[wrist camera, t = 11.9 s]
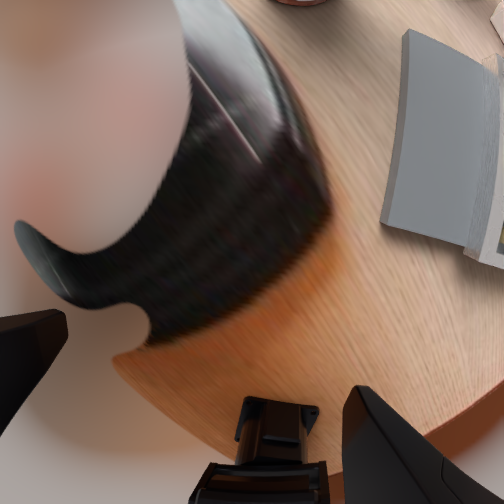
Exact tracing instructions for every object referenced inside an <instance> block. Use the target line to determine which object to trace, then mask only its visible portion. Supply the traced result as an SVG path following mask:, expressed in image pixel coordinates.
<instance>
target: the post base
mask: <svg viewBox="0 0 504 504" xmlns="http://www.w3.org/2000/svg"><path fill="white" fill-rule="evenodd" d="M483 130H484V79H483V65H481V64H479V63H478V62H476V61H474V60H473V59H471V58H469V57H468V56H466V55H464V54H462V53H460V52H459V51H457V50H455V49H453V48H451V47H449V46H447V45H445V44H443V43H441V42H439V41H437V40H435V39H433V38H430V37H428V36H426V35H424V34H421V33H419V32H417V31H414V30H412V29H408V30H407V32H406V33H405V34H404V35H403V36H402V63H401V82H400V95H399V106H398V116H397V125H396V133H395V140H394V147H393V154H392V160H391V166H390V172H389V178H388V183H387V188H386V193H385V198H384V203H383V208H382V212H381V217H380V222H382V223H384V224H386V225H389V226H393V227H396V228H400V229H404V230H408V231H412V232H415V233H419V234H423V235H426V236H430V237H433V238H437V239H440V240H444V241H447V242H451V243H454V244H457V245H461V246H464V247H465V244H466V240H467V236H468V232H469V228H470V223H471V219H472V214H473V209H474V204H475V199H476V193H477V187H478V180H479V173H480V165H481V156H482V145H483ZM497 252H500V253H503V254H504V221H503V226H502V231H501V235H500V239H499V243H498V247H497Z"/></svg>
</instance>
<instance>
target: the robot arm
mask: <svg viewBox="0 0 504 504" xmlns="http://www.w3.org/2000/svg"><path fill="white" fill-rule="evenodd" d="M67 339H68V328H67V321H66V315H65V313H64V312H62V311H60V310H57V309H48V310H43V311H37V312H31V313H25V314H19V315H12V316H6V317H0V437H1V435H2V433H3V432H4V430H5V429H6V427H7V426H8V425H9V423H10V421H11V420H12V419H13V417H14V416H15V414H16V413H17V411H18V410H19V409H20V407H21V406H22V404H23V403H24V402H25V400H26V399H27V397H28V396H29V395H30V394H31V392H32V391H33V389H34V388H35V387H36V385H37V384H38V383H39V382H40V380H41V379H42V378H43V376H44V375H45V374H46V372H47V371H48V369H49V368H50V366H51V364H52V363H53V361H54V360H55V358H56V356H57V355H58V354H59V352H60V350H61V349H62V347H63V346H64V344H65V343H66V341H67ZM248 401H250V402H248ZM312 411H315V412H312ZM318 415H319V408H318V407H316V406H309V405H301V404H294V403H287V402H280V401H274V400H268V399H262V398H257V397H252V396H247V397H245V398H244V401H243V406H242V410H241V414H240V418H239V422H238V426H237V430H236V434H235V441H236V442H239V446H238V450H237V455H236V460H235V465H226V464H218V463H212V462H211V463H210V464H209V465H208V467H207V469H206V470H205V472H204V474H203V475H202V477H201V479H200V480H199V482H198V484H197V486H196V488H195V489H194V491H193V493H192V494H191V496H190V498H189V502H188V504H330V493H329V483H328V474H327V466H326V461H319V462H318V463H308V453H307V437H308V435H309V433H310V431H311V429H312V427H313V425H314V423H315V421H316V419H317V417H318ZM342 465H343V476H344V491H345V504H504V500H502V499H501V498H499V497H498V496H496V495H495V494H493V493H492V492H490V491H489V490H487V489H486V488H485V487H483V486H482V485H480V484H479V483H477V482H476V481H475V480H473V479H472V478H471V477H469V476H468V475H466V474H465V473H464V472H463V471H461V470H460V469H459V468H458V467H457V466H456V465H454V464H453V463H452V462H451V461H450V460H449V459H448V458H446V457H443V454H442V453H441V452H440V451H439V450H437V449H436V448H435V447H434V446H433V445H432V444H431V443H430V442H429V441H427V440H426V439H425V438H424V437H423V436H422V435H421V434H420V433H419V432H418V431H417V430H415V429H414V428H413V427H412V426H411V425H410V424H409V423H408V422H407V421H406V420H405V419H403V418H402V417H401V416H400V415H399V414H398V413H397V412H396V411H395V410H394V409H393V408H392V407H390V406H389V405H388V404H387V403H386V402H385V401H384V400H383V399H382V398H381V397H380V396H379V395H378V394H376V393H375V392H374V391H373V390H372V389H371V388H370V387H369V386H364V385H355V386H354V387H353V388H352V390H351V392H350V394H349V396H348V398H347V400H346V402H345V404H344V407H343V417H342Z"/></svg>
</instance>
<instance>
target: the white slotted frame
mask: <svg viewBox="0 0 504 504" xmlns="http://www.w3.org/2000/svg"><path fill="white" fill-rule="evenodd" d="M482 64H483V79H484V130H483V145H482V156H481V165H480V173H479V180H478V187H477V193H476V199H475V204H474V209H473V214H472V219H471V223H470V228H469V232H468V236H467V240H466V244H465V247H464V251H463V254H465V255H467V256H469V257H470V258H472V259H474V260H476V261H478V262H481V263H485V264H488V265H491V266H495V267H498V268H501V269H504V254H503V253H500V252H497V247H498V243H499V239H500V235H501V231H502V226H503V221H504V58H503V57H501V56H500V55H498V54H497V53H495V54H493V55H491V56H489V57H487V58H485V59H483V60H482Z"/></svg>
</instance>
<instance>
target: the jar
mask: <svg viewBox="0 0 504 504" xmlns="http://www.w3.org/2000/svg"><path fill="white" fill-rule="evenodd" d="M490 21H491V22H492V24H493V26H494V27H495V29H496V31H497V32H498V34H499V36H500V38H501V40H502V42H503V43H504V0H503V1H502V2H500V3H499V4H498V6H497V7H496V9H495V11H494V13H493V14H492V16H491V18H490Z"/></svg>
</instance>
